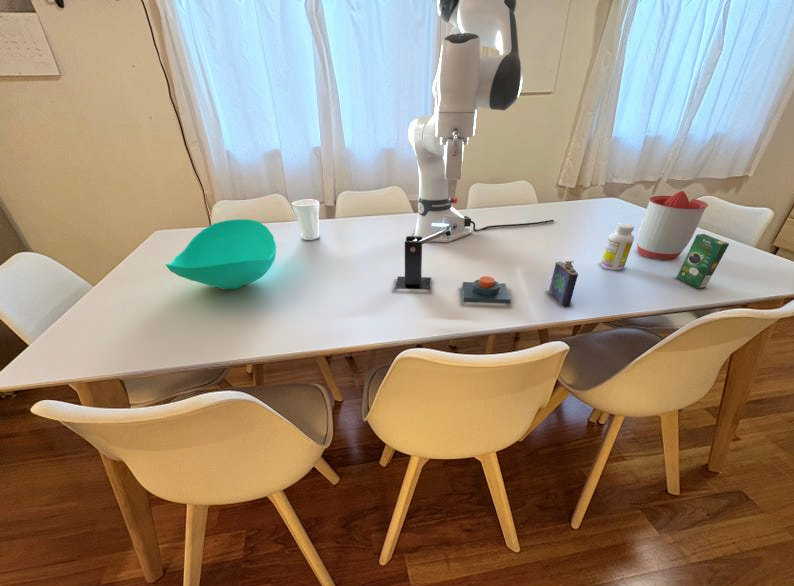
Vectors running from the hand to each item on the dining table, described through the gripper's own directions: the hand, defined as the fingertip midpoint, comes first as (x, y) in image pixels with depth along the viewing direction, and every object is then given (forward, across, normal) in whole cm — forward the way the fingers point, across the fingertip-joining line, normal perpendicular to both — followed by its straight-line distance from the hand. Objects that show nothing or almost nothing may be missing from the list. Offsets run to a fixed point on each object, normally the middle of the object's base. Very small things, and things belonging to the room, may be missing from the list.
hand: (450, 193), depth 92 cm
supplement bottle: (+25, +19, -53) cm, 61 cm away
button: (+22, -6, -11) cm, 25 cm away
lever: (+13, 0, +4) cm, 13 cm away
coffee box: (+25, +8, -71) cm, 76 cm away
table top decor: (+26, -2, +63) cm, 68 cm away
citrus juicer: (+25, +32, -72) cm, 83 cm away
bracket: (+26, 0, +9) cm, 27 cm away
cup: (+26, +40, +52) cm, 70 cm away
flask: (+26, -5, -31) cm, 40 cm away
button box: (+25, -6, -11) cm, 28 cm away
